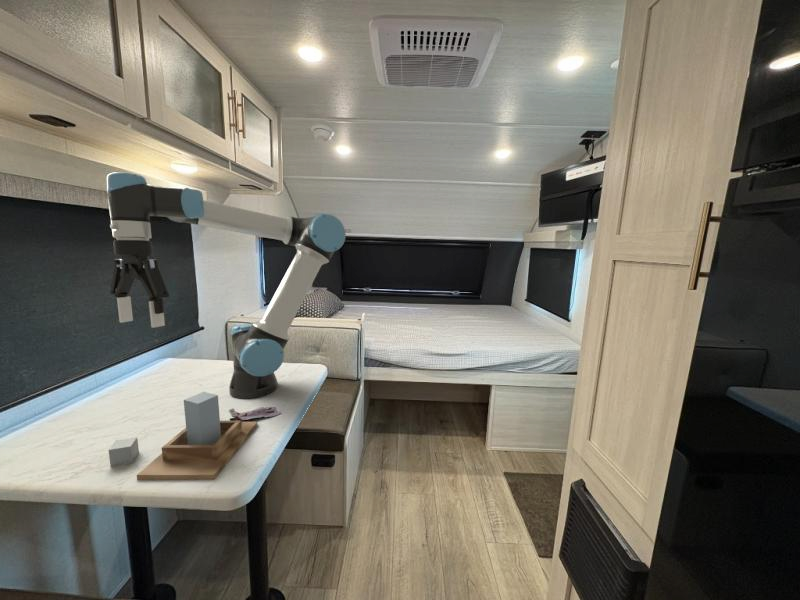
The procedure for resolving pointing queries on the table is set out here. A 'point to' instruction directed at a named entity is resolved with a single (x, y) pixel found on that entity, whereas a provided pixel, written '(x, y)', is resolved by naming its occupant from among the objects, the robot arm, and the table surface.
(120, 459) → the grey block
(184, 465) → the tray
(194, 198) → the robot arm
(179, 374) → the table surface
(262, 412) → the pink elongated piece
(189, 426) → the block
